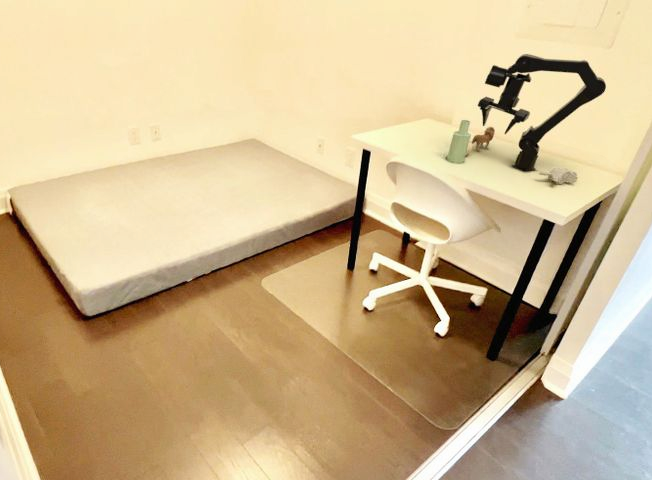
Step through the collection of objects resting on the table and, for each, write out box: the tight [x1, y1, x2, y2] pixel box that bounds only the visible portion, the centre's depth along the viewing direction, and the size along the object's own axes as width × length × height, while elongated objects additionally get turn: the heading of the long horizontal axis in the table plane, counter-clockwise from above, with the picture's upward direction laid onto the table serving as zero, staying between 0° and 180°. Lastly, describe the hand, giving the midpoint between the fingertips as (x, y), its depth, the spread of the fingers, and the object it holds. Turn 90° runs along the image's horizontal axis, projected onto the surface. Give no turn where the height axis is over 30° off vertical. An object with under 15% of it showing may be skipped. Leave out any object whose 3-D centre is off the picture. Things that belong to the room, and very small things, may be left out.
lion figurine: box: [471, 126, 496, 152], centre depth 190 cm, size 15×5×9 cm, turn 129°
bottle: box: [446, 119, 472, 164], centre depth 175 cm, size 7×7×16 cm
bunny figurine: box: [538, 166, 579, 185], centre depth 162 cm, size 10×5×15 cm
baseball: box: [465, 140, 474, 157], centre depth 183 cm, size 7×7×7 cm
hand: (494, 129), depth 174 cm, fingers open, 9 cm apart
